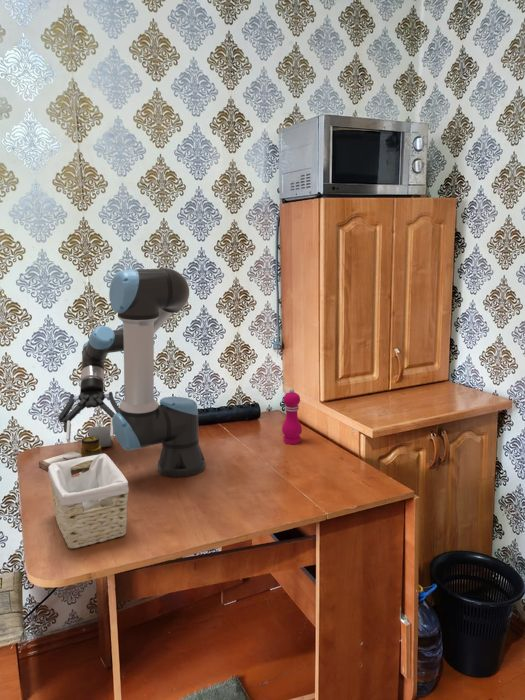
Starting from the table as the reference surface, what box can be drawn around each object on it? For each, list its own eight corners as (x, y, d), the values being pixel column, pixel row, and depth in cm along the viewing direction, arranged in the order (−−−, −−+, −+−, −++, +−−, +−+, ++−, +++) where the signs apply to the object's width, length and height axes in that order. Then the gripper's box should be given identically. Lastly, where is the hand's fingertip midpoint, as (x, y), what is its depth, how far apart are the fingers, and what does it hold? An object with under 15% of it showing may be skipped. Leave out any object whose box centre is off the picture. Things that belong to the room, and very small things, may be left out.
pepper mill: (283, 437, 210) (282, 385, 206) (302, 438, 209) (302, 385, 205) (281, 444, 203) (280, 390, 199) (301, 445, 202) (301, 391, 198)
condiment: (102, 469, 183) (99, 433, 181) (107, 478, 176) (104, 441, 174) (78, 473, 180) (75, 437, 178) (82, 483, 173) (80, 445, 171)
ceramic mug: (114, 448, 201) (112, 428, 200) (90, 451, 198) (88, 430, 197) (111, 439, 211) (109, 419, 210) (88, 442, 208) (86, 422, 207)
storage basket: (50, 513, 154) (45, 462, 151) (110, 500, 161) (107, 451, 158) (66, 555, 133) (60, 496, 130) (133, 537, 141) (130, 481, 138)
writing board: (97, 465, 186) (97, 459, 186) (61, 478, 177) (60, 471, 176) (75, 455, 195) (74, 449, 195) (39, 466, 186) (38, 460, 185)
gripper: (130, 385, 198) (130, 441, 186) (56, 390, 194) (51, 447, 182) (129, 374, 192) (129, 431, 180) (51, 378, 187) (47, 436, 176)
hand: (90, 439), depth 181 cm, fingers open, 13 cm apart
